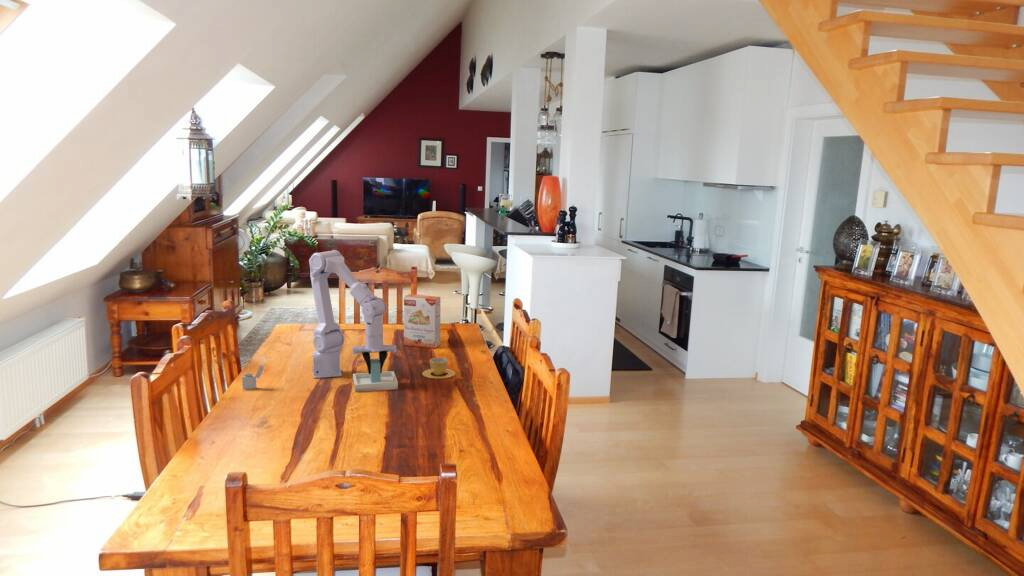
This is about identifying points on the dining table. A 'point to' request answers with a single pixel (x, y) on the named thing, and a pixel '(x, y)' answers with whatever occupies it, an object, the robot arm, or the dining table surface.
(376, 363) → the teal block
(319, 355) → the robot arm
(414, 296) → the cracker box
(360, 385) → the tray
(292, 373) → the dining table surface
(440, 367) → the cup
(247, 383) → the lighter
